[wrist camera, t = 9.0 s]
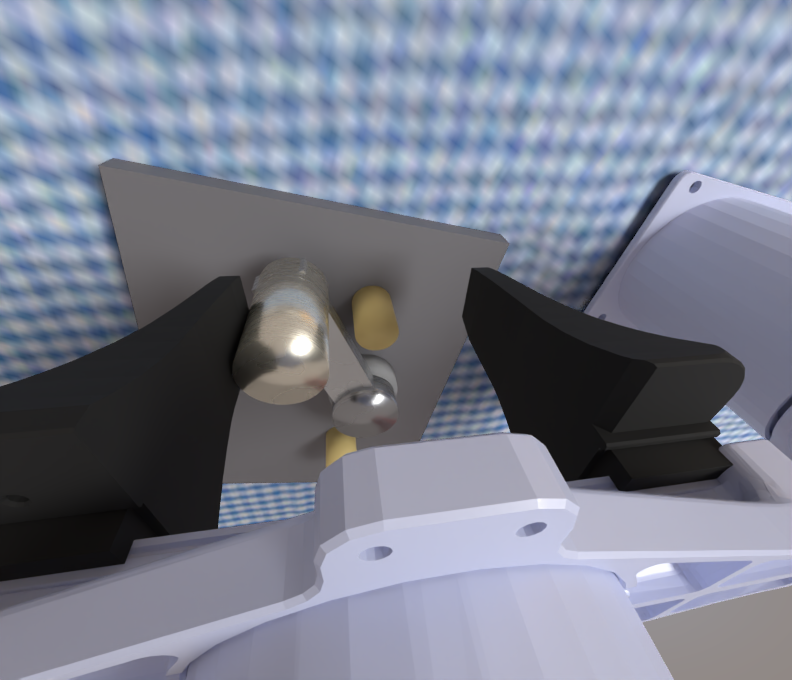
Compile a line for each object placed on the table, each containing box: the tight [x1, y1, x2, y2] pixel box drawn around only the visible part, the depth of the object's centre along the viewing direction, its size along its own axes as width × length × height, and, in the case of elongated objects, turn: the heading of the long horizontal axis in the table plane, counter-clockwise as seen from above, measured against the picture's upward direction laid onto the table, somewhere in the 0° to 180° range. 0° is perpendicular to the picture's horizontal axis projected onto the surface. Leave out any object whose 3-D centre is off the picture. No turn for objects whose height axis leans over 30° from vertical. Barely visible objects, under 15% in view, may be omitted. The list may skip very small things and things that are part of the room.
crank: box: [232, 257, 399, 438], centre depth 14 cm, size 10×3×5 cm, turn 19°
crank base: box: [99, 158, 509, 483], centre depth 18 cm, size 15×19×3 cm
